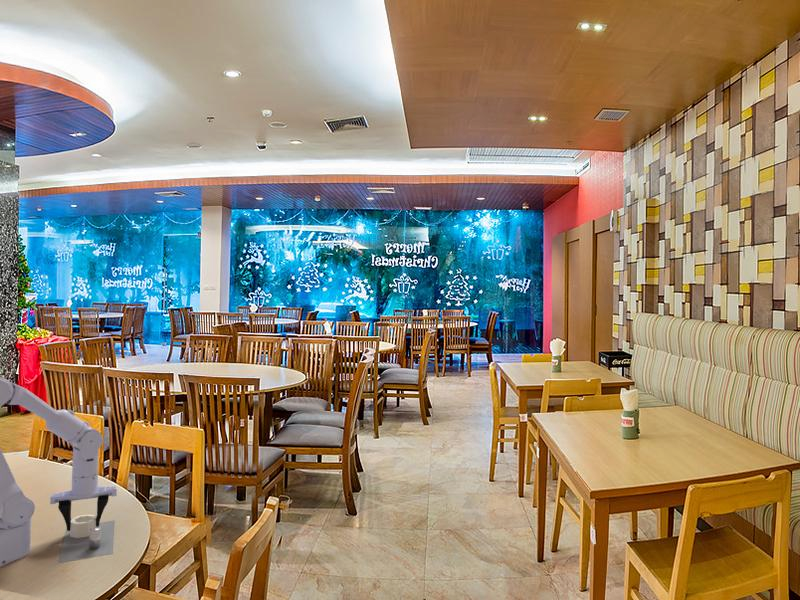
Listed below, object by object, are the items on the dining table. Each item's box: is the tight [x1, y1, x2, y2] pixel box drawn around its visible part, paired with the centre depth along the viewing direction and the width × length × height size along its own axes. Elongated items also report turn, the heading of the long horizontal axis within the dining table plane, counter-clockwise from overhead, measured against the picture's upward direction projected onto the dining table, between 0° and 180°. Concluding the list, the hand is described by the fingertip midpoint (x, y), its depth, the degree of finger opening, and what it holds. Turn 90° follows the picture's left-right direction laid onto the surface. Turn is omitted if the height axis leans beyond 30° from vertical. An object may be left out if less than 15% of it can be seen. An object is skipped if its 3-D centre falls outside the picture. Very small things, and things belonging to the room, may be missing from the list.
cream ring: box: [70, 513, 97, 538], centre depth 134 cm, size 6×6×4 cm
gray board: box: [57, 520, 116, 564], centre depth 130 cm, size 20×11×1 cm, turn 28°
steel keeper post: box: [89, 527, 101, 550], centre depth 126 cm, size 2×2×4 cm
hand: (83, 527), depth 134 cm, fingers closed on cream ring, 6 cm apart
